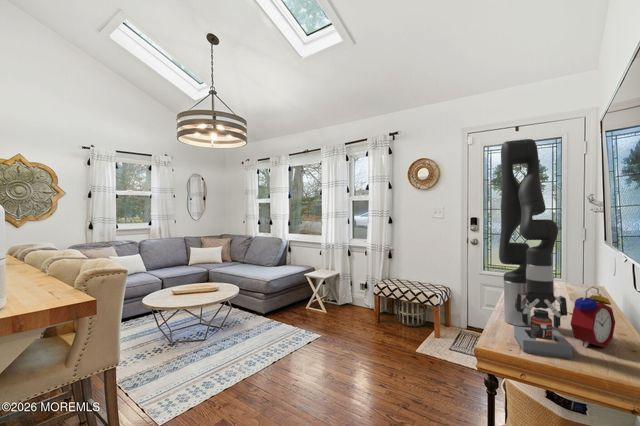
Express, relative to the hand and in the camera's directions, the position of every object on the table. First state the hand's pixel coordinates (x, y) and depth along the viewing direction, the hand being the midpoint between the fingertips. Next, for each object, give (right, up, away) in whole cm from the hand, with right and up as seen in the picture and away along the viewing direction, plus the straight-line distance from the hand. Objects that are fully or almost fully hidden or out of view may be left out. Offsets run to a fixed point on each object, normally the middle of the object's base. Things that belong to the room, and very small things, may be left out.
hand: (540, 325), depth 102 cm
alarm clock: (+19, -7, +2) cm, 20 cm away
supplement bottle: (0, -6, 0) cm, 6 cm away
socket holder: (0, -7, 0) cm, 7 cm away
